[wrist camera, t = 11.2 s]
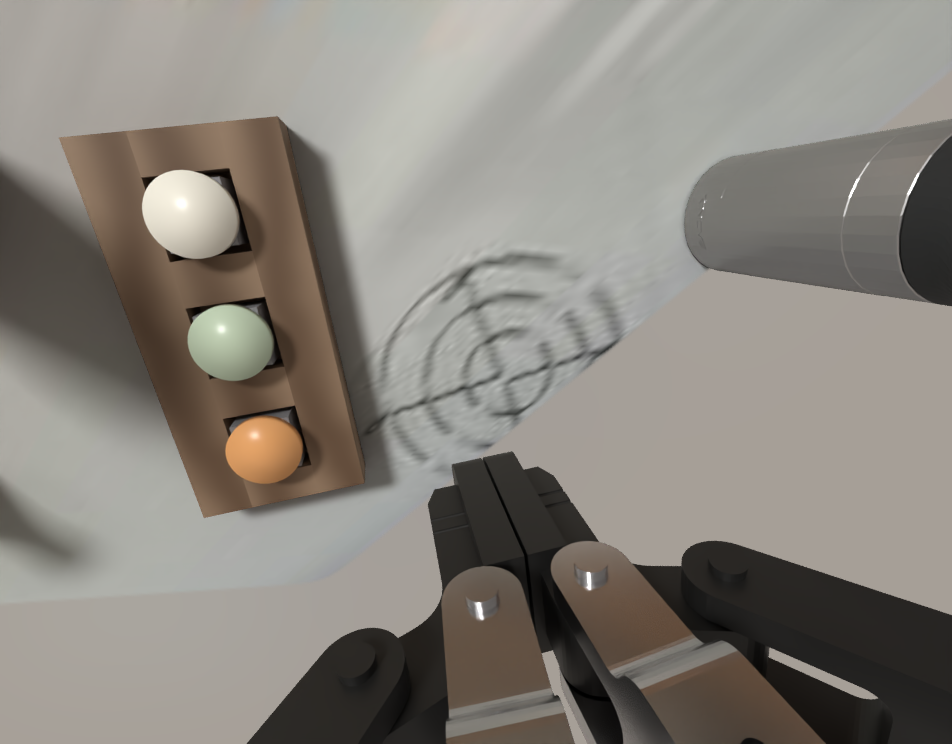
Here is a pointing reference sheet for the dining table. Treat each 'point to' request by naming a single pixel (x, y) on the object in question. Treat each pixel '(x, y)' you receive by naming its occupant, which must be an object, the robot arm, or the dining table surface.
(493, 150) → the dining table surface
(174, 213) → the button cream
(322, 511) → the dining table surface
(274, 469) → the button orange
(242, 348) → the button sage
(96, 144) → the console
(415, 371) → the dining table surface
